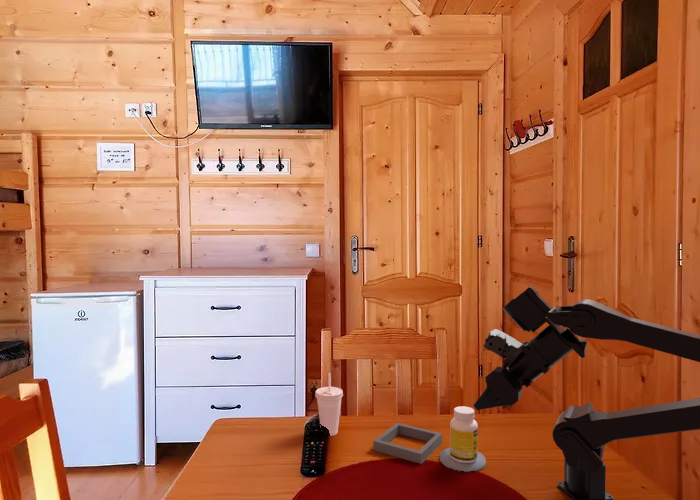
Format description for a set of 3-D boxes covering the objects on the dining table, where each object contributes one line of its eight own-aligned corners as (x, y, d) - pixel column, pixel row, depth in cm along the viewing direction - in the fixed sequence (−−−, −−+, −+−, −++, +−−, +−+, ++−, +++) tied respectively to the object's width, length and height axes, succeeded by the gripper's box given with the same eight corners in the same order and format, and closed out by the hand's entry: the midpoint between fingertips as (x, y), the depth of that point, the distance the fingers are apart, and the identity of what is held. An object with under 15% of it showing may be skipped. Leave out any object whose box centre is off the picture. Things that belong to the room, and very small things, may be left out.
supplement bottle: (478, 465, 89) (478, 416, 89) (449, 463, 90) (450, 413, 90) (476, 452, 95) (476, 405, 94) (449, 450, 96) (449, 403, 95)
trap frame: (442, 442, 101) (442, 433, 101) (421, 463, 91) (421, 454, 91) (396, 431, 107) (396, 422, 107) (373, 450, 97) (373, 440, 97)
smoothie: (318, 440, 102) (318, 377, 102) (313, 428, 109) (312, 369, 108) (346, 436, 104) (346, 375, 104) (339, 425, 110) (339, 367, 110)
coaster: (494, 469, 89) (494, 466, 89) (450, 474, 87) (450, 471, 87) (473, 448, 98) (473, 445, 98) (433, 452, 96) (433, 449, 96)
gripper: (522, 310, 94) (469, 356, 101) (497, 326, 79) (436, 379, 85) (563, 353, 90) (506, 398, 97) (546, 379, 75) (479, 431, 81)
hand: (482, 400), depth 90 cm, fingers open, 9 cm apart
